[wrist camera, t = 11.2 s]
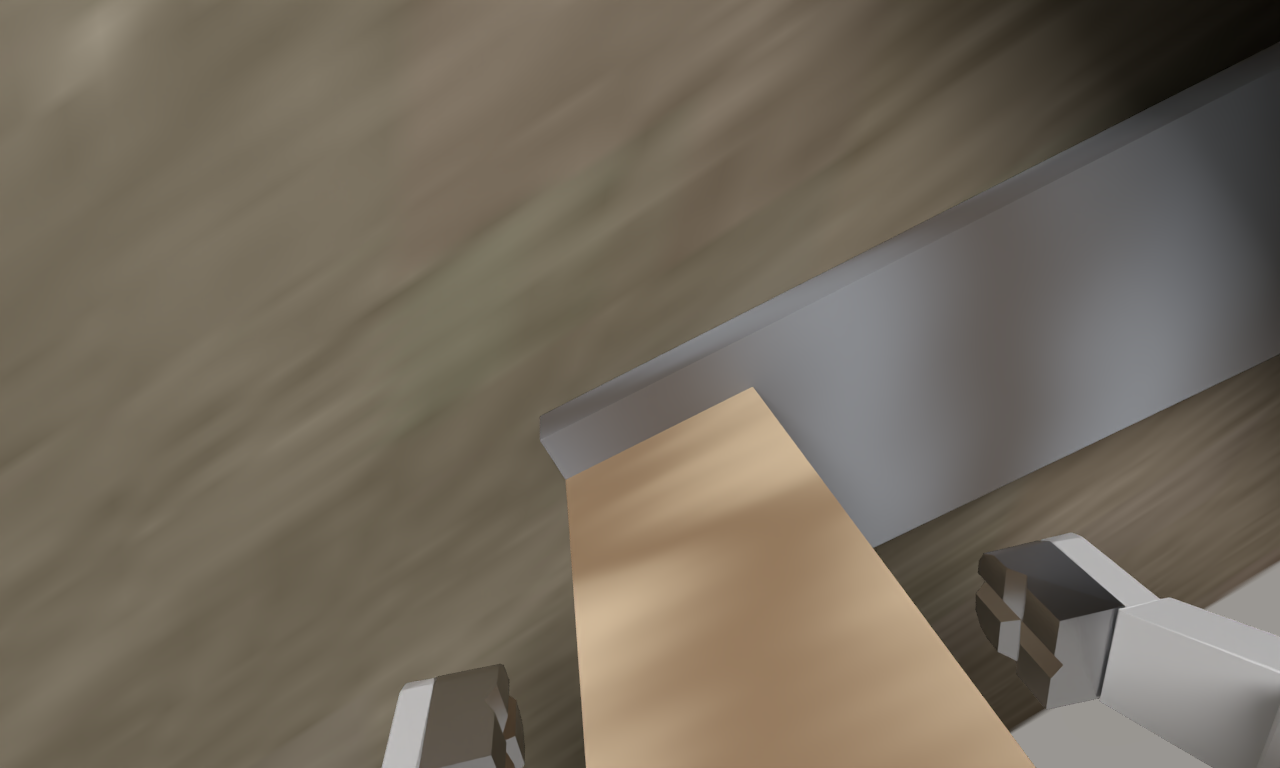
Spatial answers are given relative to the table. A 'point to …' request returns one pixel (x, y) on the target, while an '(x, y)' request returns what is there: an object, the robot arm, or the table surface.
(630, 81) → the table surface
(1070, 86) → the table surface
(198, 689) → the table surface
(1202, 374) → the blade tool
